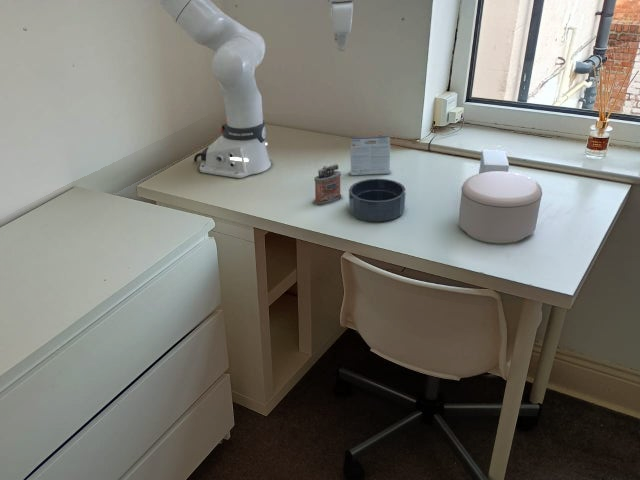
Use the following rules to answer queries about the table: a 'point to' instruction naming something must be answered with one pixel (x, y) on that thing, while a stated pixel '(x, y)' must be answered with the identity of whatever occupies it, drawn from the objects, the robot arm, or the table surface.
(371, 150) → the ink box
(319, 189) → the lighter
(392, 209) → the bowl
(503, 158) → the cosmetics box
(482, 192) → the container
